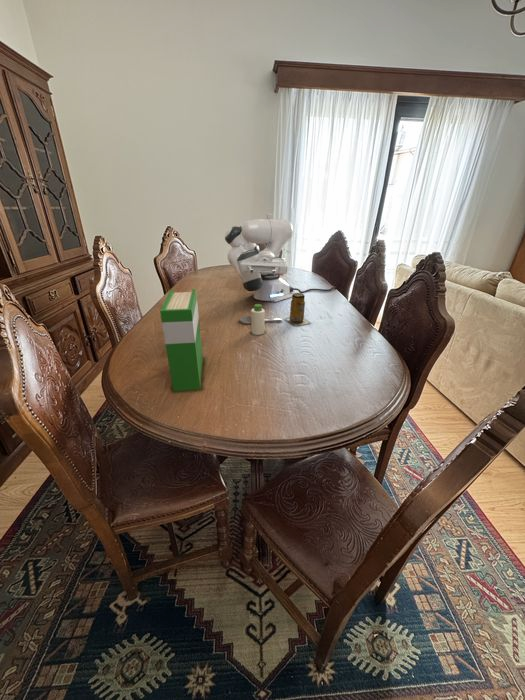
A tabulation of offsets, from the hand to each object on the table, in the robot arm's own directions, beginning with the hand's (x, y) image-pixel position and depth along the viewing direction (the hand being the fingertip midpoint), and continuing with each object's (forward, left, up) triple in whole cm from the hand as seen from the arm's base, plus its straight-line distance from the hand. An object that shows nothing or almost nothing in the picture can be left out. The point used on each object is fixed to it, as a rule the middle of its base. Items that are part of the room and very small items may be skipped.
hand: (262, 271), depth 117 cm
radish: (+8, +9, -21) cm, 25 cm away
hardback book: (+42, +25, -22) cm, 53 cm away
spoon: (+1, +1, -21) cm, 22 cm away
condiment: (-13, +9, -22) cm, 27 cm away
